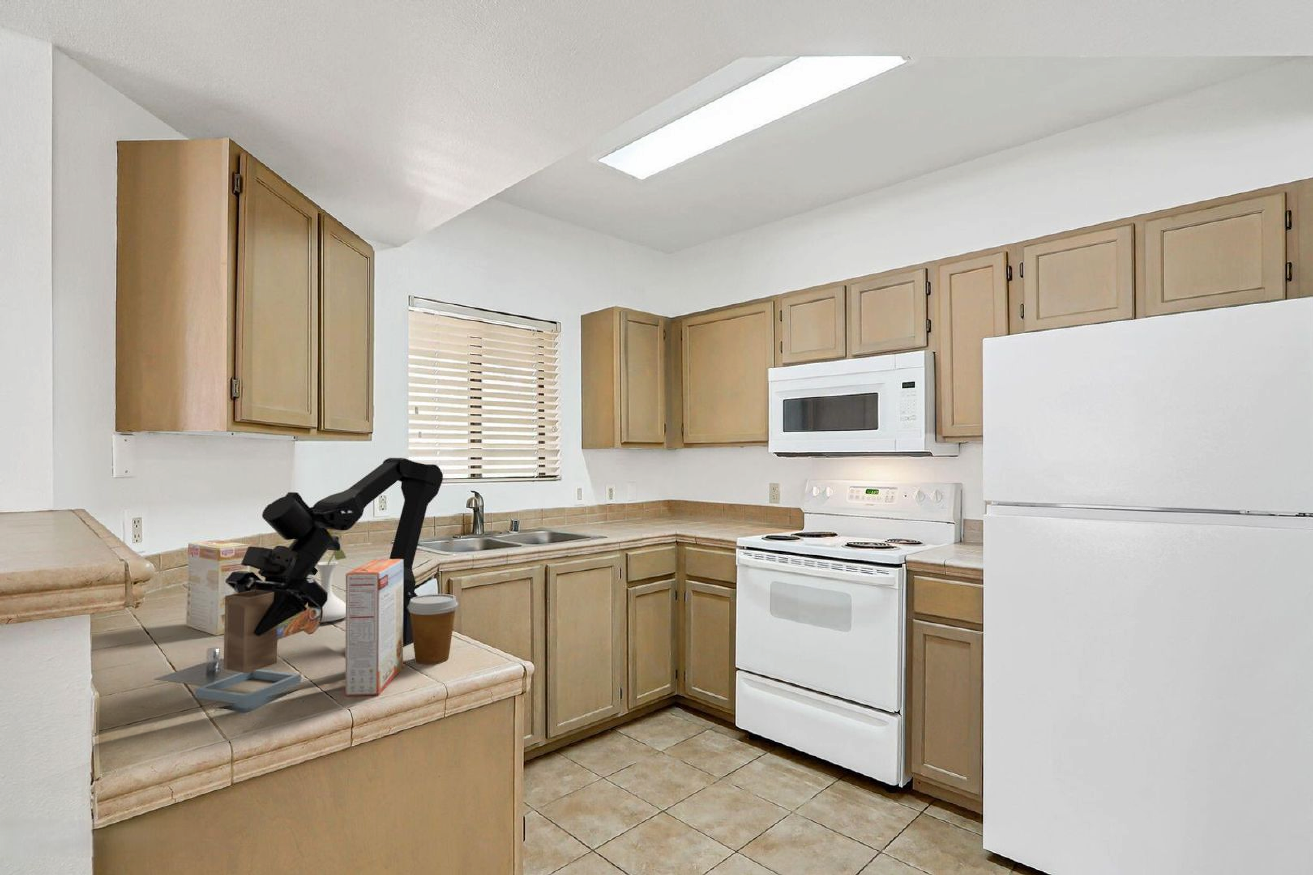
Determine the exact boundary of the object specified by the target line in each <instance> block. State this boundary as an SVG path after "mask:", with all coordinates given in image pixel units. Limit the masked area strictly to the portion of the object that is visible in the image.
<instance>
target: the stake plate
mask: <svg viewBox="0 0 1313 875" xmlns="http://www.w3.org/2000/svg"><path fill="white" fill-rule="evenodd" d="M205 653H206V654H205V655H206V656H205V658H206V660H205V662H202V663H199V664H195V665H193V666H190V667H186V668H184V669H179V670H178V671H174V672H172V673H171V672H170V673H168V674H165V675H162V676H159V677H155V678H154V680H157V681H164V682H171V683H177V684H178V683H179V684H186V685H192V686H200V687H202V686H205V685H208V684H211V683H213V682H216V681H219V680H222V679H224V678H227V677H230V676H233V675H236V674H238V673H241V672H237V671H232V670H227V669H224V658H220V657H221V656H220V654H221V648H220V647H219V646H218V647H209V648H206V652H205Z"/></svg>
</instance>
